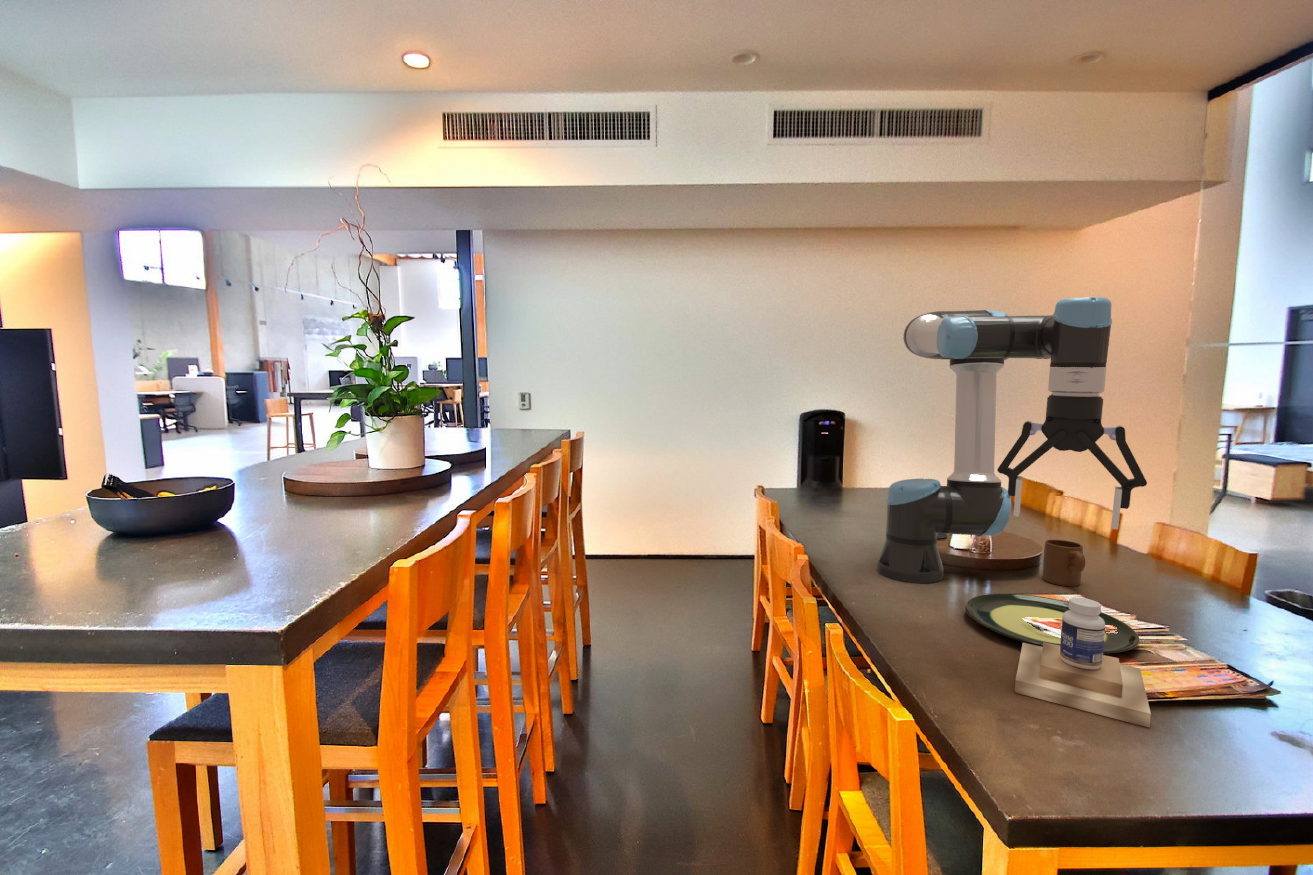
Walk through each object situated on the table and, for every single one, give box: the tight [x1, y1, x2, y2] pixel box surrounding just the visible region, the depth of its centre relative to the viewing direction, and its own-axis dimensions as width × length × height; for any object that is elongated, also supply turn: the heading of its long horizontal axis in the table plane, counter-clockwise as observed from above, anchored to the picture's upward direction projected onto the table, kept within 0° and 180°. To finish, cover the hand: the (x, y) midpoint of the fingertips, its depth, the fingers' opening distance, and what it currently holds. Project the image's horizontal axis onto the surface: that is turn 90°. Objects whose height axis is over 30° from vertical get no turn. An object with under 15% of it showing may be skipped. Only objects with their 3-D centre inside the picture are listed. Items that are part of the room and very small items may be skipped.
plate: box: [964, 593, 1141, 655], centre depth 114 cm, size 28×28×2 cm
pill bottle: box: [1060, 597, 1105, 670], centre depth 92 cm, size 5×5×10 cm
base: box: [1014, 642, 1152, 729], centre depth 93 cm, size 16×16×4 cm
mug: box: [1042, 539, 1086, 587], centre depth 139 cm, size 12×8×9 cm, turn 172°
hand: (1063, 521), depth 100 cm, fingers open, 13 cm apart
